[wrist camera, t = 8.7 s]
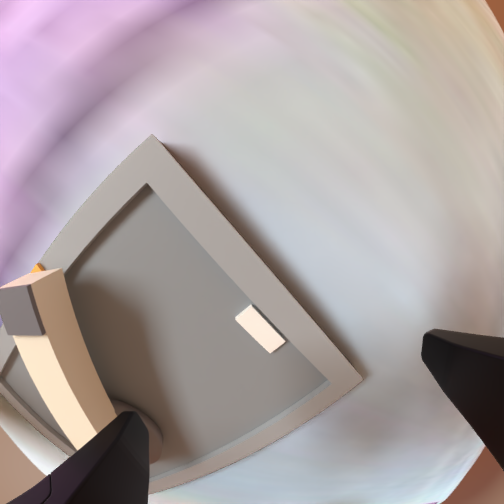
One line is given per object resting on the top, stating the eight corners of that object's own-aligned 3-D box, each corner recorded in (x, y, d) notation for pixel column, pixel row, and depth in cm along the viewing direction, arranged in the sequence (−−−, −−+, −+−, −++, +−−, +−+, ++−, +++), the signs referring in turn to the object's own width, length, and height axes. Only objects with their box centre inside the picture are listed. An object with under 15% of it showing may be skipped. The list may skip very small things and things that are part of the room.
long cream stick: (174, 457, 14) (171, 499, 10) (100, 452, 13) (88, 488, 10) (100, 258, 11) (59, 281, 8) (17, 272, 11) (-26, 293, 7)
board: (140, 484, 16) (137, 499, 14) (-8, 361, 13) (-20, 372, 11) (352, 365, 16) (365, 382, 14) (160, 141, 12) (150, 132, 10)
